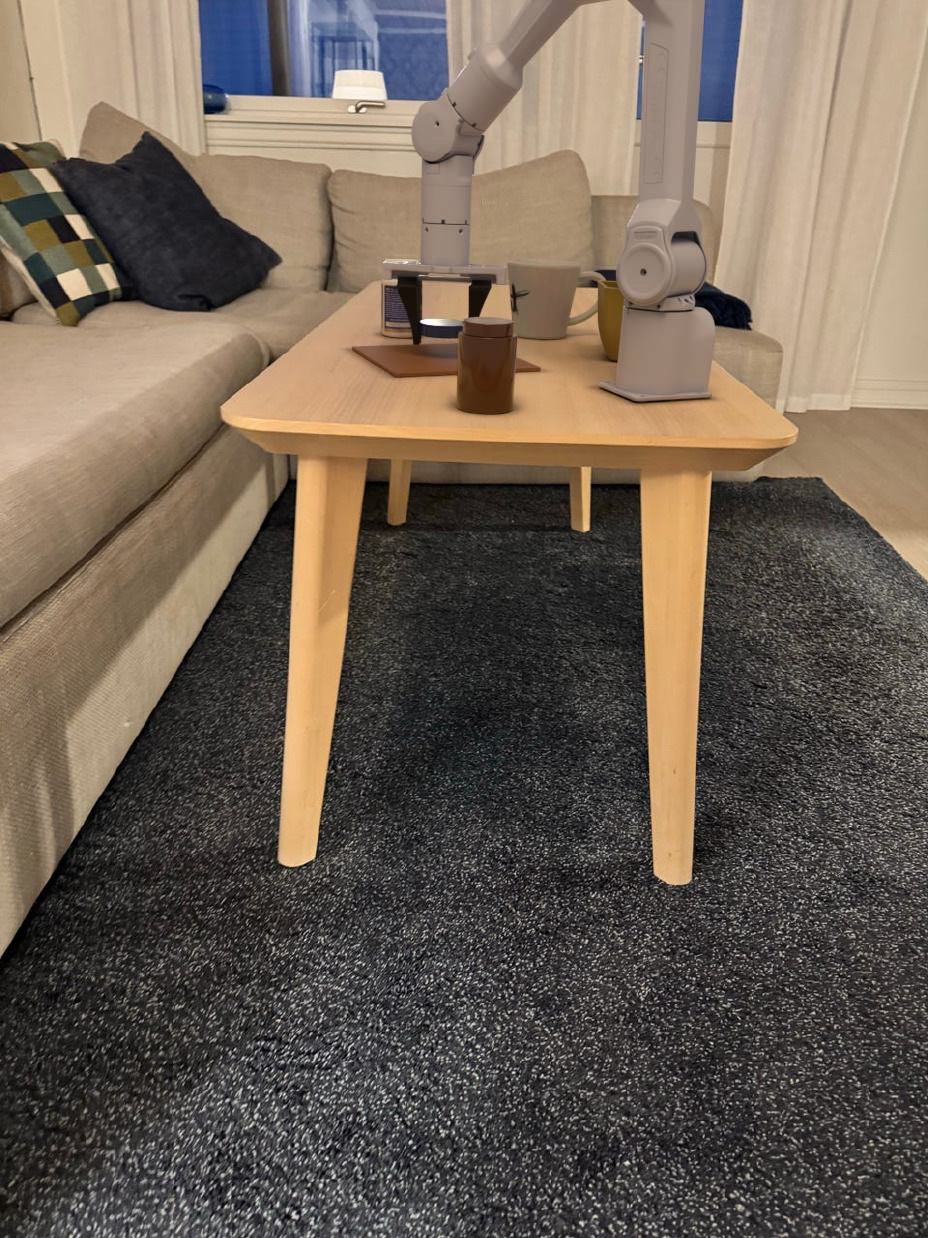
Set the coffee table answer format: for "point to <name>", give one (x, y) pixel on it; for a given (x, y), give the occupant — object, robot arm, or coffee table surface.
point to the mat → (421, 359)
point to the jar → (486, 365)
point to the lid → (440, 328)
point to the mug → (546, 296)
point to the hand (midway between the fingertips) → (442, 344)
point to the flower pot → (610, 316)
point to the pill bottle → (394, 308)
